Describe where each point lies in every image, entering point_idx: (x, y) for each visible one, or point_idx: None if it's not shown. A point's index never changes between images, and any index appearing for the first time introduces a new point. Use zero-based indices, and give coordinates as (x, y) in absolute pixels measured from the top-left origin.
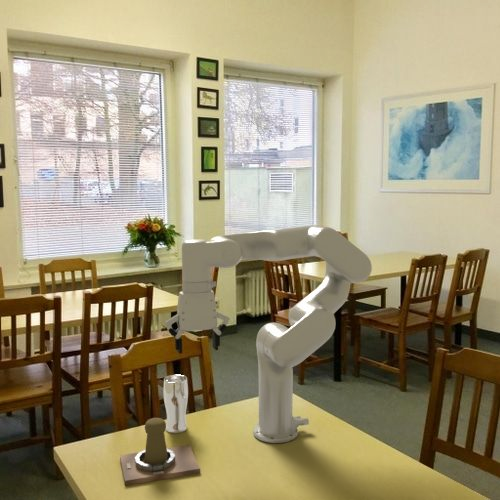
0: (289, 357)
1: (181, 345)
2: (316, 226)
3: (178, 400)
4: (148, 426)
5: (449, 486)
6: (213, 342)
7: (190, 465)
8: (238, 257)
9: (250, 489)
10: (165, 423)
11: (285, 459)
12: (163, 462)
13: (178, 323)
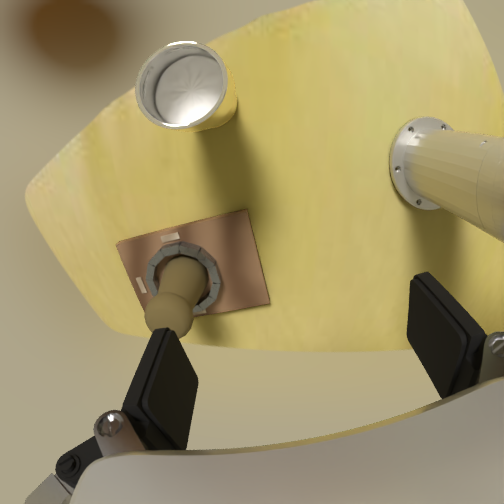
0: None
1: (187, 418)
2: None
3: (205, 129)
4: None
5: None
6: (426, 318)
7: (251, 292)
8: None
9: (340, 340)
10: (190, 319)
11: (416, 264)
12: (201, 303)
13: (81, 478)
